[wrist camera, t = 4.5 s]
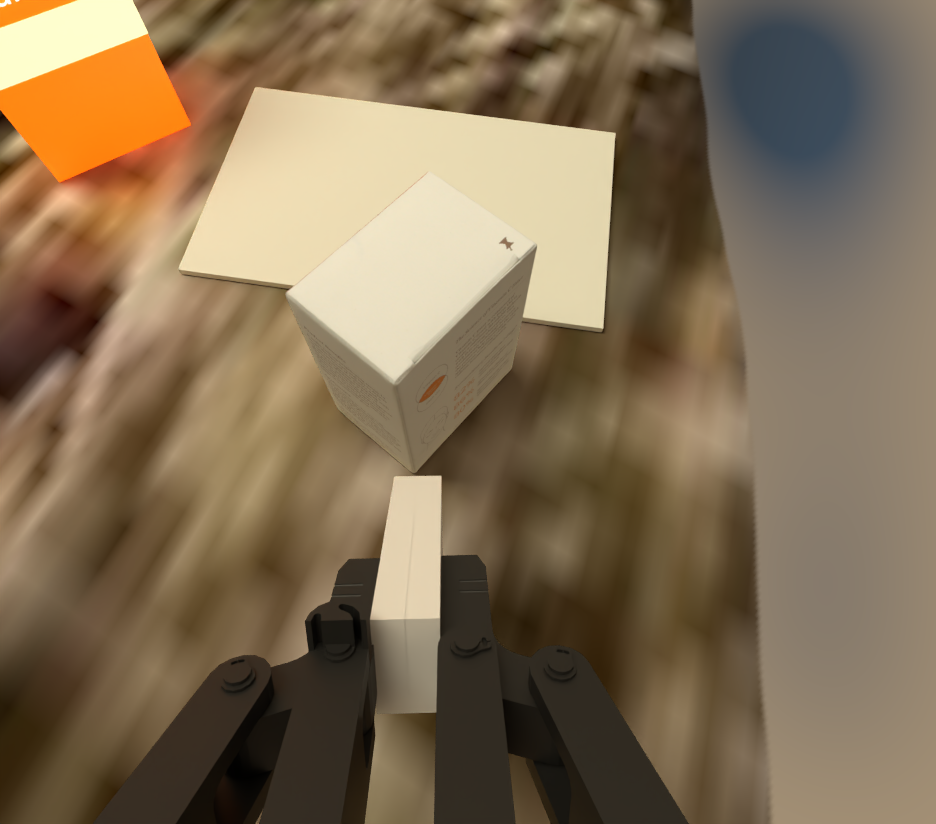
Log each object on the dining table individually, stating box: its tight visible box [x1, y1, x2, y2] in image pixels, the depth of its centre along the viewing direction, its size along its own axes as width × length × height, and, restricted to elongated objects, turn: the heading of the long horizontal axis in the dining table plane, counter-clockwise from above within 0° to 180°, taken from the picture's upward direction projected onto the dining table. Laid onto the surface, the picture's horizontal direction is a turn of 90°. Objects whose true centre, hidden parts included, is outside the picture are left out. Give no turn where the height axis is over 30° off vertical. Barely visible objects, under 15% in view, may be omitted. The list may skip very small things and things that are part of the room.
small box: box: [286, 172, 537, 473], centre depth 26 cm, size 8×6×10 cm
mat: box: [178, 87, 615, 332], centre depth 36 cm, size 24×15×1 cm, turn 82°
